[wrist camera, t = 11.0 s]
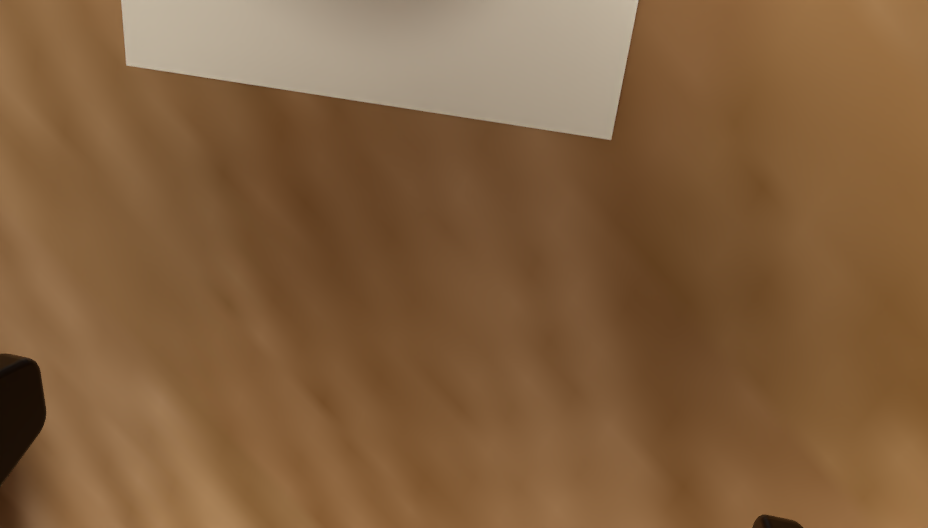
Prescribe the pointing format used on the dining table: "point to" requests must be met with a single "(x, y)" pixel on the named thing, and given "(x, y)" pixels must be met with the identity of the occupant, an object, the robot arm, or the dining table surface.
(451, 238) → the dining table surface
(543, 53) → the potting mat
